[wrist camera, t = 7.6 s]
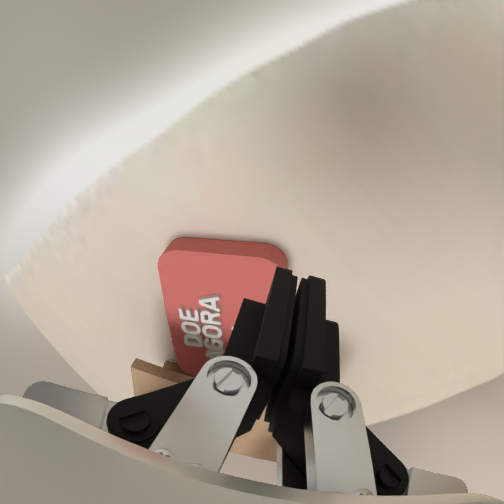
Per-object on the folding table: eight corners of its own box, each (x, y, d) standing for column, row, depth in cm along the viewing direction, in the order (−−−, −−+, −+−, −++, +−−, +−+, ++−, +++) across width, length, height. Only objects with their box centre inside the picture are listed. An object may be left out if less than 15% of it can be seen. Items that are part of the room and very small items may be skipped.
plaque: (298, 394, 35) (178, 376, 37) (300, 370, 39) (187, 355, 41) (318, 266, 27) (152, 251, 29) (318, 245, 30) (167, 233, 32)
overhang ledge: (336, 347, 35) (338, 421, 26) (304, 402, 41) (298, 465, 32) (168, 302, 36) (130, 366, 27) (165, 365, 42) (138, 423, 33)
